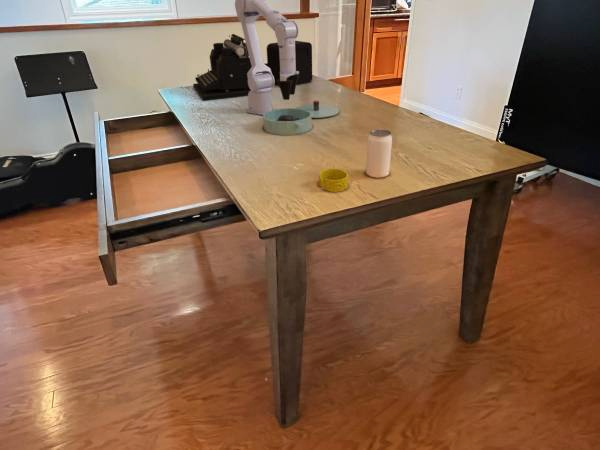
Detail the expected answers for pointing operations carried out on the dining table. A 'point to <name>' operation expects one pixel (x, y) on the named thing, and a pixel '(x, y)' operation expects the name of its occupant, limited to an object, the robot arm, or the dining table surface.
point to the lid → (320, 109)
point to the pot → (287, 126)
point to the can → (379, 153)
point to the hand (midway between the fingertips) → (288, 96)
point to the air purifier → (301, 57)
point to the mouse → (287, 118)
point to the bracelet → (333, 180)
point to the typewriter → (226, 71)
